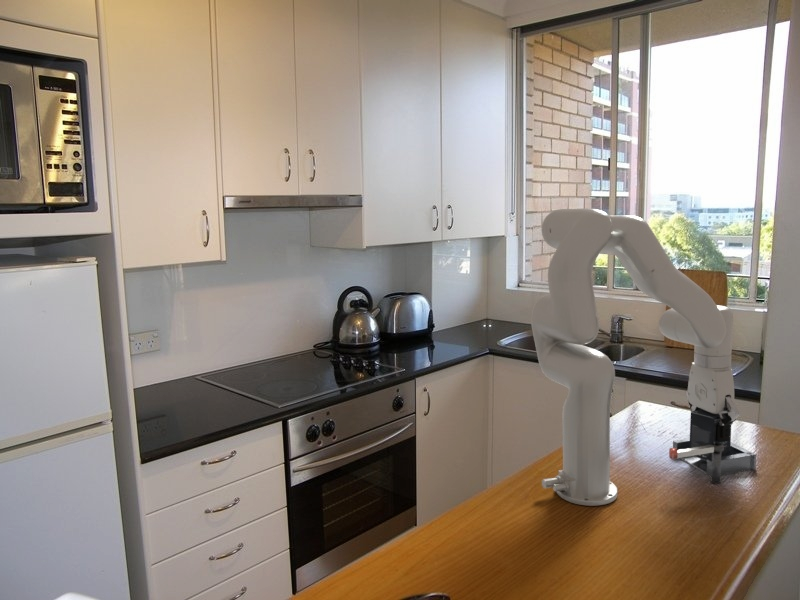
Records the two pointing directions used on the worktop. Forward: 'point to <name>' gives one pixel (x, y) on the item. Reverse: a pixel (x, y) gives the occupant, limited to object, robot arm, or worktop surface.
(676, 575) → the worktop surface
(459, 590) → the worktop surface
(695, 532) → the worktop surface
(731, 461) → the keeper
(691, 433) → the box
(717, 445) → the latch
